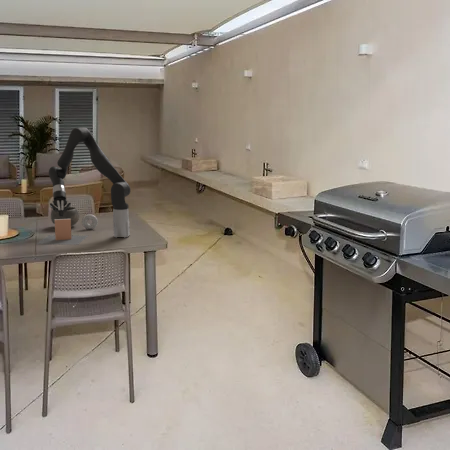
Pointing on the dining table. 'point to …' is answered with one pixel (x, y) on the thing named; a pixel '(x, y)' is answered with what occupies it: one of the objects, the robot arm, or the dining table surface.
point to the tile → (62, 229)
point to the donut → (91, 217)
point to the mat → (74, 241)
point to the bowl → (66, 215)
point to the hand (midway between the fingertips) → (61, 216)
